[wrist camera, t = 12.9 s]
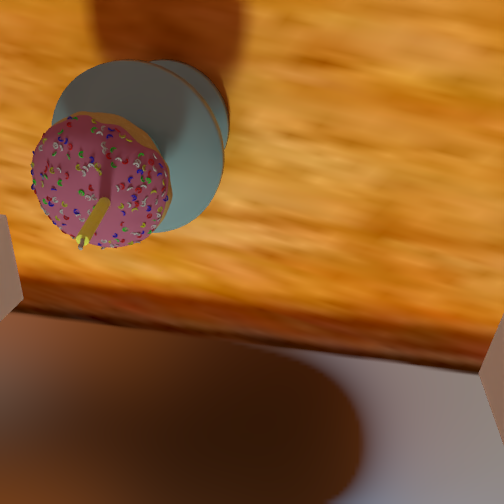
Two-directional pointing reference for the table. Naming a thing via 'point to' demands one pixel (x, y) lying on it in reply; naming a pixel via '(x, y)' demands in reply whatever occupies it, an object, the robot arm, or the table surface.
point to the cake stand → (162, 122)
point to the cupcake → (101, 179)
